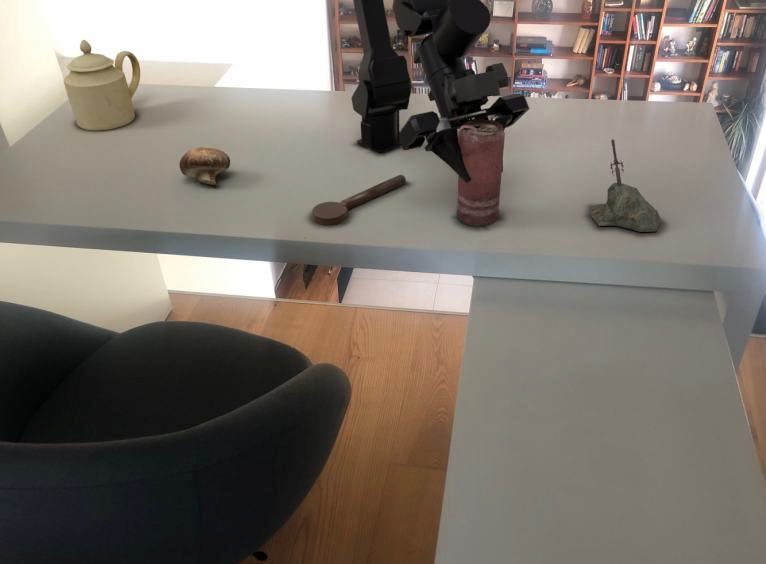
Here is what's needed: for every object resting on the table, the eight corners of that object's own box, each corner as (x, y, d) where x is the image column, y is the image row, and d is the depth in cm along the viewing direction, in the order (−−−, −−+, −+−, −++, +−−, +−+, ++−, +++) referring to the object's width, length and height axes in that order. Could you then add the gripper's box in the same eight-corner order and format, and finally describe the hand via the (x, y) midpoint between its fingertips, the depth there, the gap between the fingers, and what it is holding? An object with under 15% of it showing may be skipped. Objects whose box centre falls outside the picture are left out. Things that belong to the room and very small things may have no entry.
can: (452, 209, 105) (455, 119, 97) (493, 206, 106) (500, 116, 97) (458, 229, 101) (462, 136, 92) (501, 226, 101) (509, 133, 92)
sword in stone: (660, 210, 104) (680, 133, 97) (660, 236, 98) (681, 156, 91) (592, 202, 106) (606, 126, 99) (588, 227, 101) (602, 148, 93)
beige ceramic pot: (99, 102, 143) (77, 25, 134) (151, 103, 143) (132, 25, 133) (66, 130, 132) (39, 48, 122) (122, 131, 131) (99, 48, 122)
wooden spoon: (393, 177, 114) (392, 168, 113) (415, 187, 111) (415, 178, 110) (305, 217, 104) (304, 207, 103) (328, 229, 101) (327, 219, 100)
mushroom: (214, 178, 108) (205, 138, 107) (175, 192, 111) (165, 153, 110) (244, 181, 115) (235, 144, 114) (206, 194, 118) (197, 158, 118)
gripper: (408, 54, 88) (450, 168, 87) (529, 33, 94) (568, 139, 94) (382, 97, 98) (419, 200, 97) (492, 75, 105) (527, 171, 104)
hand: (484, 177), depth 98 cm, fingers closed on can, 5 cm apart
